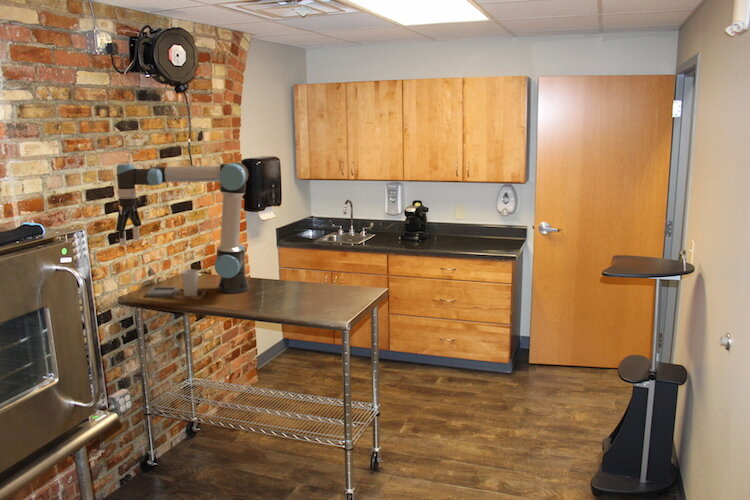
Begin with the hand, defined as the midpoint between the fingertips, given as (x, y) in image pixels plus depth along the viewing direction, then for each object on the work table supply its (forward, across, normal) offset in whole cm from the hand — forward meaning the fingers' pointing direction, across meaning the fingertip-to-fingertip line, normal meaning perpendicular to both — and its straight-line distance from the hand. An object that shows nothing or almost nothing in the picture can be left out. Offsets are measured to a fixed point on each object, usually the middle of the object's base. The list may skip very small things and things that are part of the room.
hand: (130, 242), depth 289 cm
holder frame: (+27, -6, +26) cm, 38 cm away
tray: (+26, -6, +12) cm, 30 cm away
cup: (+27, -6, +26) cm, 38 cm away
